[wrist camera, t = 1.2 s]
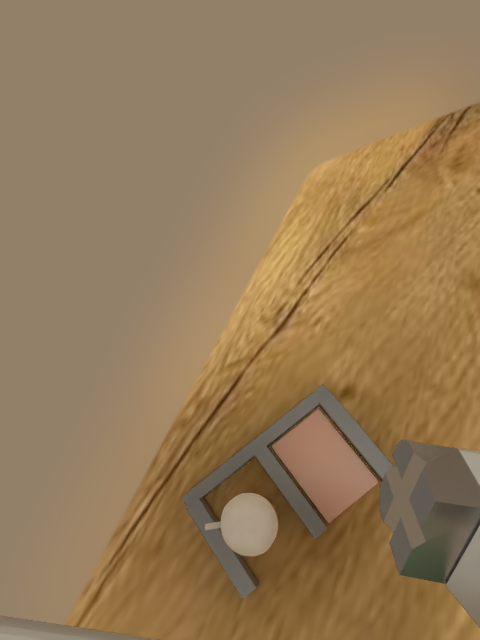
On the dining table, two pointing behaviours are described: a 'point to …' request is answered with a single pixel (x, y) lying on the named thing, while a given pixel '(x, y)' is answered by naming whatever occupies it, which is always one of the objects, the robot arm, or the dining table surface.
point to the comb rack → (297, 473)
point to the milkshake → (248, 524)
